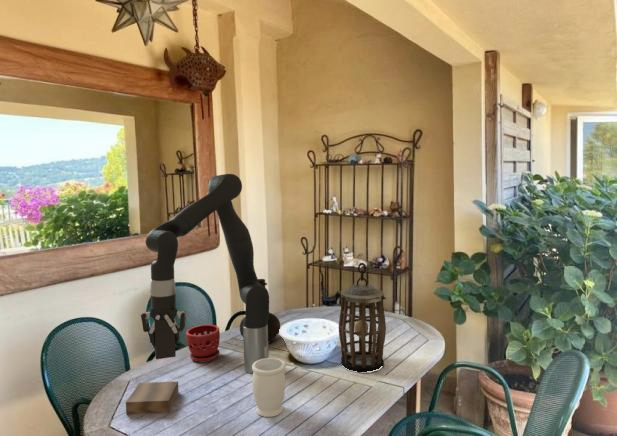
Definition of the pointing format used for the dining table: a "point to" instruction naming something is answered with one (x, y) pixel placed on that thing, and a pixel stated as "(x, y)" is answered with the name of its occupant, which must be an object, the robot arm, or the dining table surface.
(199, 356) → the plant pot
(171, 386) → the walnut plinth
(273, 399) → the jar
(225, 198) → the robot arm
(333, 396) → the dining table surface
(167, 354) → the phone stand
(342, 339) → the lantern
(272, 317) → the black rounded vessel
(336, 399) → the dining table surface
